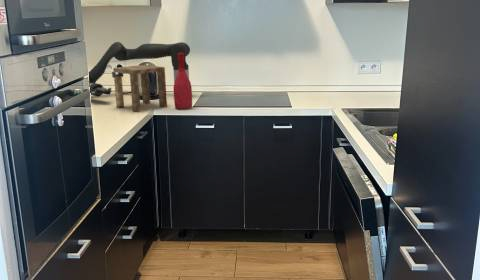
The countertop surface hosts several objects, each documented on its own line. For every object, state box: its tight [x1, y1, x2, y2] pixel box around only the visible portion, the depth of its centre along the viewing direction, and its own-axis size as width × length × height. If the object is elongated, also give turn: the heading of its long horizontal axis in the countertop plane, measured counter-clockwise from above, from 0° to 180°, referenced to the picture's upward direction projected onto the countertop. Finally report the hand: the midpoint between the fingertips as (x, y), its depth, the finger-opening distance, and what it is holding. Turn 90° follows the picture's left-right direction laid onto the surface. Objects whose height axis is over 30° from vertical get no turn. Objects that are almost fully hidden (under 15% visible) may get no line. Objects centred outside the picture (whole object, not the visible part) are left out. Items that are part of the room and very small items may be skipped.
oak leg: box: [113, 73, 125, 109], centre depth 266 cm, size 3×3×18 cm
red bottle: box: [173, 53, 193, 110], centre depth 259 cm, size 10×10×30 cm
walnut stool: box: [111, 64, 168, 113], centre depth 264 cm, size 21×20×22 cm
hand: (109, 92), depth 274 cm, fingers closed
